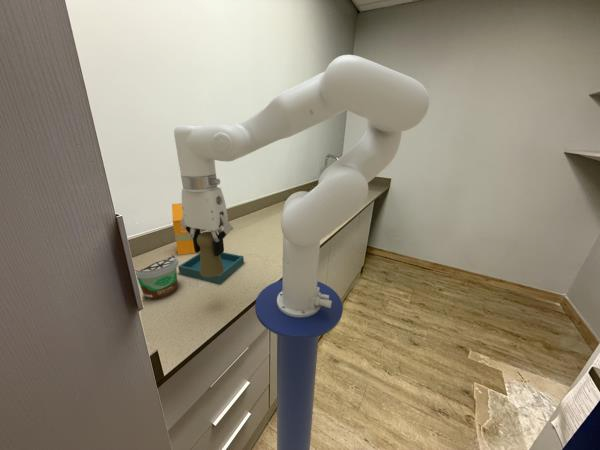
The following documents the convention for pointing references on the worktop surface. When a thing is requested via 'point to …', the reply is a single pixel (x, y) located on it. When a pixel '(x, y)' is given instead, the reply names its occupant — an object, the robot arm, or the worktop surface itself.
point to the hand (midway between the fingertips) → (209, 251)
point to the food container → (159, 278)
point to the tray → (230, 266)
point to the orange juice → (181, 232)
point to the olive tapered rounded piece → (208, 256)
